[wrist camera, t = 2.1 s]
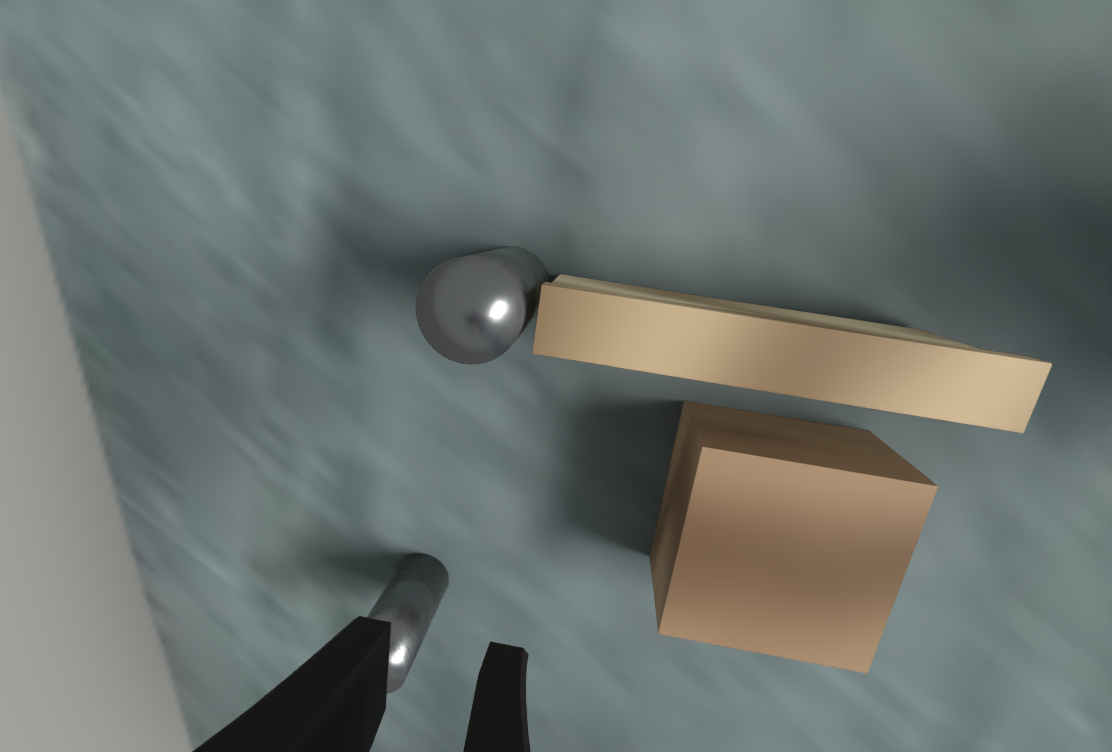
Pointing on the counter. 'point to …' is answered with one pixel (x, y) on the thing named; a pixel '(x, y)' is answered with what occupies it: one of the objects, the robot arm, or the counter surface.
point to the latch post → (409, 610)
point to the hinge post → (480, 303)
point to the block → (784, 535)
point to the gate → (786, 352)
